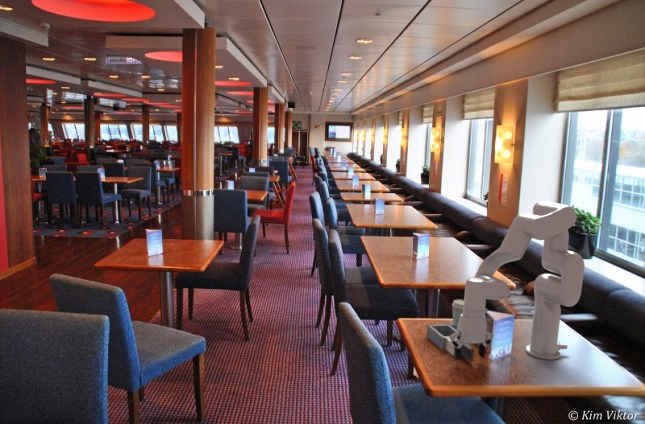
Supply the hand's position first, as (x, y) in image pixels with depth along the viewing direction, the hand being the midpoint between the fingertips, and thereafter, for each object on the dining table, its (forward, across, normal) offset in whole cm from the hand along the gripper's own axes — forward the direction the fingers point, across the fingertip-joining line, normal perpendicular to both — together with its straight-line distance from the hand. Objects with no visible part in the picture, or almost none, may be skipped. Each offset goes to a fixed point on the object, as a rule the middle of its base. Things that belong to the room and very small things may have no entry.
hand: (469, 357), depth 195 cm
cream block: (+2, 0, -7) cm, 7 cm away
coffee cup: (+2, -14, -33) cm, 36 cm away
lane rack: (+2, -4, -19) cm, 20 cm away
